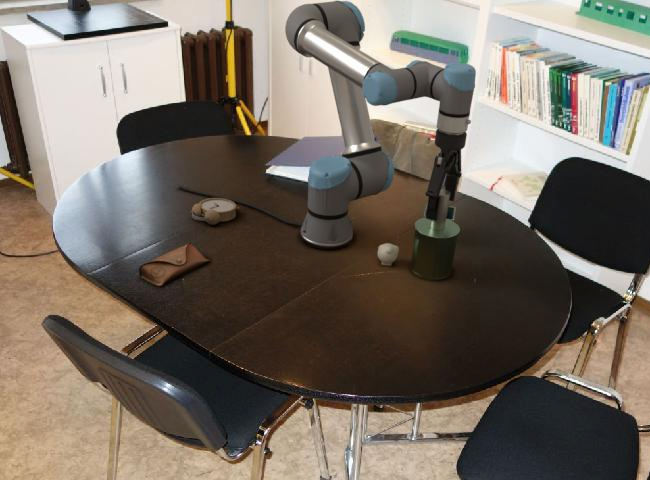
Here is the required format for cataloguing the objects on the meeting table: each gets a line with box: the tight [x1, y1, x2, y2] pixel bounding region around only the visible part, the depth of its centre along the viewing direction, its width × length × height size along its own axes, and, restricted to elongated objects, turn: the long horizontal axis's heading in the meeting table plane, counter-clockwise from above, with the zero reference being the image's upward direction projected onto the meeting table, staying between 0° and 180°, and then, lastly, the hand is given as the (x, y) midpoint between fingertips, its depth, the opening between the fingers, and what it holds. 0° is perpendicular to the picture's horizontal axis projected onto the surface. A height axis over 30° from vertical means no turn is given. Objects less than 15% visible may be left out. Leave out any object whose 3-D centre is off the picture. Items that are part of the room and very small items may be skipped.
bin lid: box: [414, 188, 461, 240], centre depth 180 cm, size 12×12×11 cm
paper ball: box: [377, 242, 400, 266], centre depth 190 cm, size 6×6×6 cm
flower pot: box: [423, 202, 457, 222], centre depth 203 cm, size 9×9×9 cm
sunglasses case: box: [138, 241, 210, 287], centre depth 182 cm, size 18×7×7 cm, turn 144°
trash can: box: [410, 229, 458, 281], centre depth 186 cm, size 11×11×13 cm
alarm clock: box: [190, 197, 240, 226], centre depth 208 cm, size 11×5×15 cm
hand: (440, 209), depth 180 cm, fingers open, 13 cm apart
